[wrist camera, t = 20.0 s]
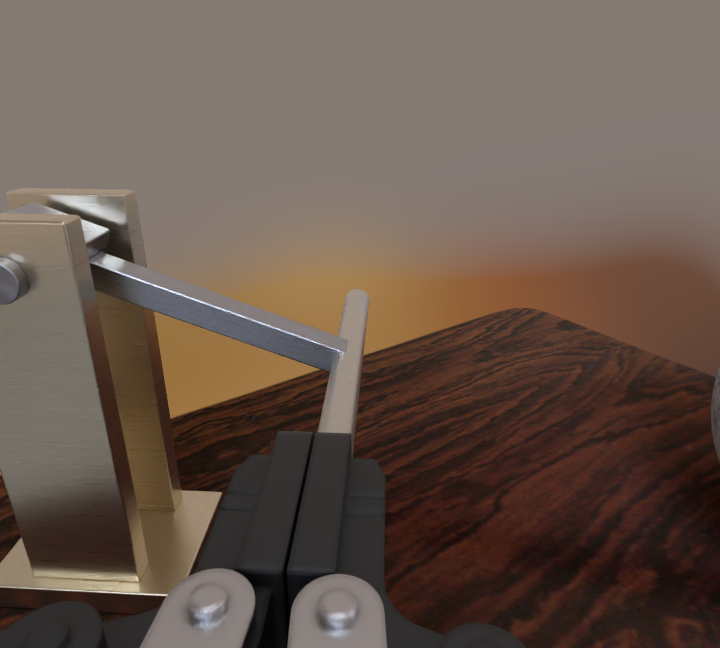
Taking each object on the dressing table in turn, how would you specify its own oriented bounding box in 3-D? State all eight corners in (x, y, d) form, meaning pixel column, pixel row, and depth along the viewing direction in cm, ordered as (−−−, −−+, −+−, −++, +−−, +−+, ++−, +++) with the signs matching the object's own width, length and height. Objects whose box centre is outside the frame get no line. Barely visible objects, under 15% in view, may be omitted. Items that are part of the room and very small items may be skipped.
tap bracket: (224, 510, 28) (187, 188, 21) (183, 617, 22) (116, 227, 16) (67, 503, 28) (-16, 184, 22) (-12, 606, 23) (-155, 221, 16)
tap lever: (359, 324, 27) (377, 280, 26) (335, 501, 16) (366, 434, 15) (91, 228, 25) (100, 177, 24) (-139, 345, 14) (-140, 262, 13)
